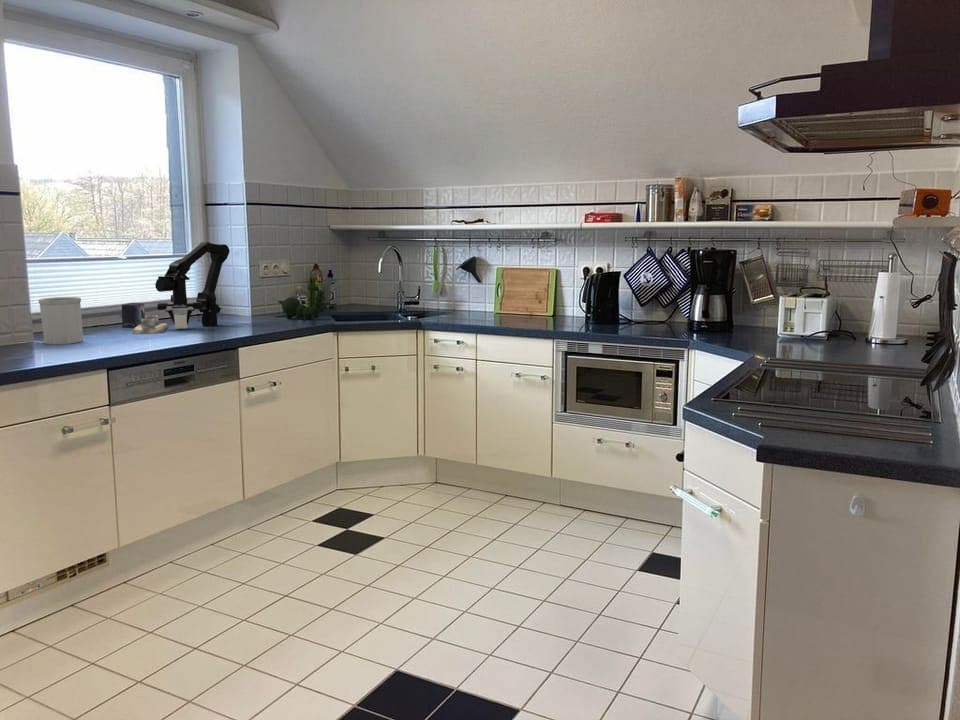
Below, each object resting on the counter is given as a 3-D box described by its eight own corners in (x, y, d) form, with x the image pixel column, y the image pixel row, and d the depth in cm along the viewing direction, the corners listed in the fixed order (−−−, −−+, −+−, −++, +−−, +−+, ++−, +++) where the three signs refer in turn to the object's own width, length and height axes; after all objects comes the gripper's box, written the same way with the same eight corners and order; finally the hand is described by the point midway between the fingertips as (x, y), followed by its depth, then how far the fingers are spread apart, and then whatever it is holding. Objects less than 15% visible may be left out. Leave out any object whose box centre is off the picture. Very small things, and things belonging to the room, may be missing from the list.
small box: (135, 327, 353) (134, 304, 351) (121, 327, 353) (120, 304, 352) (146, 324, 364) (144, 302, 362) (132, 324, 364) (131, 302, 362)
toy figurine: (325, 322, 394) (281, 316, 399) (328, 285, 390) (283, 279, 396) (317, 324, 385) (272, 318, 390) (319, 287, 381) (274, 281, 387)
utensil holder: (55, 345, 297) (51, 300, 295) (34, 342, 305) (30, 298, 302) (91, 341, 310) (88, 298, 307) (70, 338, 318) (67, 296, 315)
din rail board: (167, 326, 357) (166, 314, 356) (162, 332, 336) (161, 320, 335) (139, 327, 354) (138, 315, 353) (132, 333, 333) (131, 320, 332)
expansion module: (187, 326, 352) (187, 313, 351) (186, 328, 346) (186, 314, 345) (176, 326, 351) (175, 313, 350) (174, 328, 345) (174, 314, 344)
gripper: (202, 288, 356) (203, 322, 359) (158, 289, 351) (161, 323, 353) (200, 290, 345) (202, 325, 348) (156, 291, 340) (158, 326, 343)
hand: (181, 324), depth 348 cm, fingers closed on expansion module, 5 cm apart
